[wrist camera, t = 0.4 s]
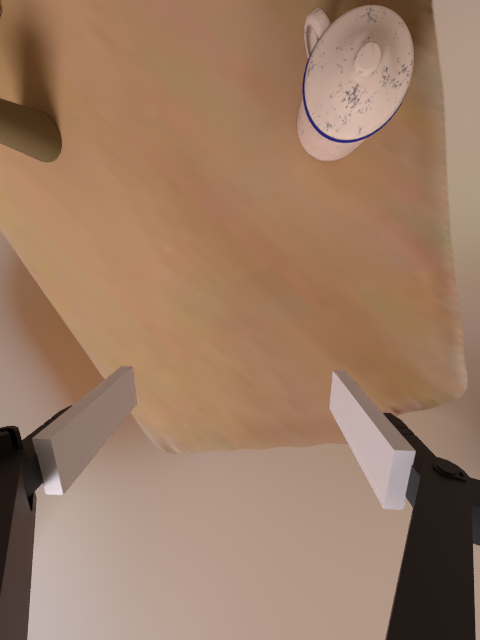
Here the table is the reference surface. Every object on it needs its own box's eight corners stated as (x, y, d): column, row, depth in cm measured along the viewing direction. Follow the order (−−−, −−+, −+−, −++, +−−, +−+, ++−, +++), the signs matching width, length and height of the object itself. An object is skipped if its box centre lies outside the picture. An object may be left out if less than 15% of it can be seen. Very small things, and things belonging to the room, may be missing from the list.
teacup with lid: (386, 129, 28) (456, 70, 18) (316, 180, 31) (340, 156, 20) (340, 19, 25) (389, -132, 15) (268, 86, 28) (265, 1, 17)
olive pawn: (44, 171, 35) (-49, 149, 25) (13, 130, 34) (-100, 88, 23) (70, 144, 33) (-19, 109, 23) (38, 99, 32) (-72, 40, 22)
